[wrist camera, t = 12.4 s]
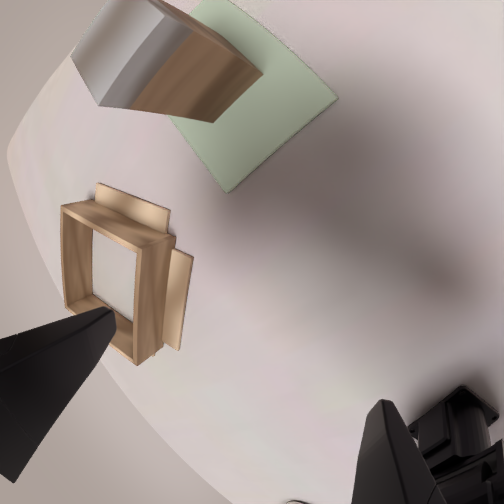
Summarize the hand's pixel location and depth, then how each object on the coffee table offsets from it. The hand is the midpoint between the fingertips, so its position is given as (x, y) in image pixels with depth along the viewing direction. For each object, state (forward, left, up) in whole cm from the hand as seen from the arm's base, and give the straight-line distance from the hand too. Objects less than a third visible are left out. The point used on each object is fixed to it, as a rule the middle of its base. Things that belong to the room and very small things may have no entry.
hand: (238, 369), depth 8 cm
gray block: (+13, -7, -12) cm, 19 cm away
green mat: (+13, -7, -12) cm, 19 cm away
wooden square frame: (+15, +13, -12) cm, 23 cm away
